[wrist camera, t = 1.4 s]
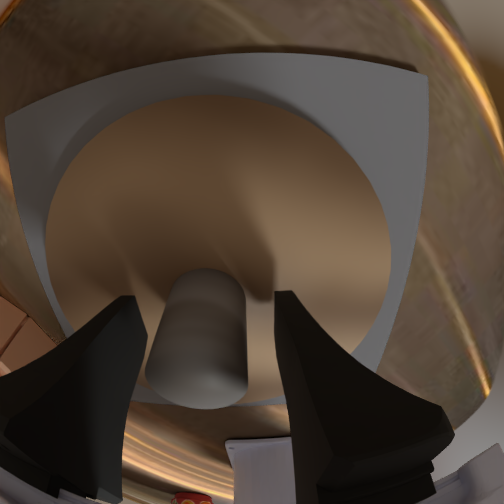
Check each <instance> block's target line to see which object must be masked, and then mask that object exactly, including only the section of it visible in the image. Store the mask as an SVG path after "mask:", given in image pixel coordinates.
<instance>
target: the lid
mask: <svg viewBox="0 0 504 504" xmlns="http://www.w3.org/2000/svg"><path fill="white" fill-rule="evenodd" d="M45 250H46V262H47V268H48V273H49V277H50V282H51V285H52V288H53V291H54V294H55V296H56V299H57V301H58V303H59V305H60V307H61V309H62V311H63V313H64V315H65V317H66V319H67V320H68V322H69V323H70V325H71V326H72V328H73V329H74V331H75V332H76V331H77V330H79V329H80V328H81V327H82V326H84V325H85V324H86V323H87V322H88V321H90V320H91V319H92V318H93V317H94V316H96V315H97V314H98V313H99V312H100V311H102V310H103V309H104V308H105V307H106V306H108V305H109V304H110V303H111V302H113V301H114V300H115V299H117V298H118V297H119V296H121V295H135V297H136V300H137V303H138V307H139V310H140V313H141V316H142V319H143V322H144V325H145V328H146V331H147V334H148V340H147V345H146V351H145V356H144V360H143V363H142V366H141V369H140V372H139V375H138V378H137V381H136V383H137V384H139V385H141V386H143V387H145V388H148V389H150V390H153V391H155V392H157V393H158V394H159V395H160V396H162V397H163V398H165V399H167V400H169V401H171V402H173V403H175V404H178V405H181V406H185V407H189V408H195V409H217V408H222V407H226V406H229V405H231V404H242V403H250V402H257V401H262V400H267V399H271V398H275V397H279V396H282V395H284V390H283V386H282V381H281V377H280V372H279V368H278V363H277V358H276V350H275V340H274V291H284V290H292V291H293V292H294V293H295V294H296V296H297V297H298V299H299V300H300V301H301V303H302V304H303V305H304V307H305V308H306V309H307V310H308V312H309V313H310V314H311V315H312V316H313V318H314V319H315V320H316V321H317V322H318V323H319V324H320V326H321V327H322V328H323V329H324V330H325V331H326V332H327V333H328V334H329V335H330V336H331V337H332V338H333V339H334V340H335V341H336V342H337V343H338V344H339V345H340V346H341V347H342V348H343V349H344V350H346V351H347V352H348V353H349V354H351V353H352V352H353V351H354V350H355V348H356V347H357V346H358V345H359V344H360V342H361V341H362V340H363V339H364V337H365V336H366V334H367V333H368V331H369V330H370V328H371V327H372V325H373V324H374V322H375V319H376V317H377V315H378V313H379V311H380V309H381V307H382V304H383V301H384V298H385V295H386V292H387V288H388V282H389V276H390V270H391V244H390V237H389V230H388V225H387V221H386V218H385V215H384V212H383V208H382V205H381V203H380V201H379V199H378V197H377V194H376V192H375V190H374V189H373V187H372V185H371V183H370V181H369V179H368V178H367V177H366V175H365V174H364V172H363V171H362V170H361V168H360V167H359V165H358V164H357V163H356V161H355V160H354V159H353V158H352V157H351V156H350V155H349V154H348V153H347V152H346V151H345V150H344V149H343V148H342V147H341V146H340V145H339V144H338V143H337V142H336V141H335V140H334V139H333V138H331V137H330V136H329V135H327V134H326V133H324V132H323V131H322V130H320V129H319V128H317V127H316V126H315V125H313V124H312V123H310V122H309V121H307V120H305V119H303V118H301V117H299V116H297V115H295V114H293V113H290V112H288V111H286V110H284V109H282V108H279V107H276V106H273V105H270V104H266V103H263V102H260V101H256V100H253V99H248V98H241V97H233V96H225V95H196V96H184V97H179V98H174V99H169V100H165V101H160V102H156V103H153V104H151V105H148V106H145V107H143V108H140V109H138V110H135V111H133V112H131V113H128V114H127V115H125V116H123V117H122V118H120V119H118V120H117V121H115V122H113V123H112V124H110V125H109V126H107V127H106V128H104V129H103V130H102V131H101V132H100V133H98V134H97V135H96V136H95V137H94V138H93V139H91V140H90V141H89V142H88V143H87V144H86V145H85V146H84V147H83V148H82V150H81V151H80V152H79V153H78V154H77V156H76V157H75V158H74V159H73V161H72V162H71V163H70V165H69V166H68V168H67V170H66V171H65V173H64V175H63V177H62V178H61V180H60V182H59V184H58V186H57V189H56V191H55V194H54V197H53V199H52V202H51V205H50V210H49V214H48V219H47V224H46V238H45Z"/></svg>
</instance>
